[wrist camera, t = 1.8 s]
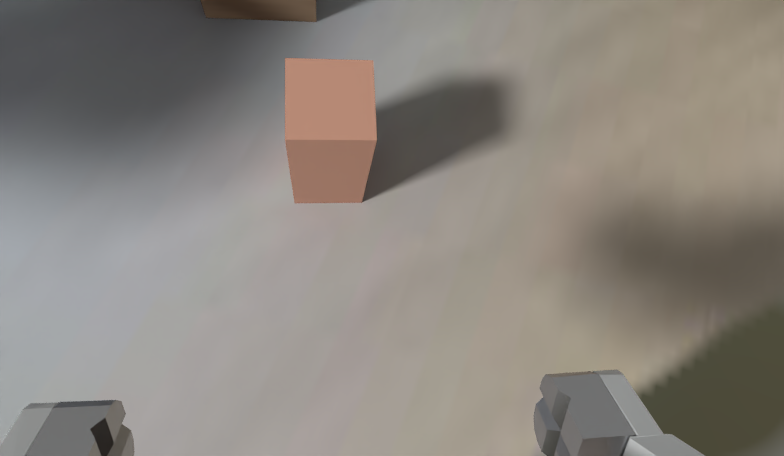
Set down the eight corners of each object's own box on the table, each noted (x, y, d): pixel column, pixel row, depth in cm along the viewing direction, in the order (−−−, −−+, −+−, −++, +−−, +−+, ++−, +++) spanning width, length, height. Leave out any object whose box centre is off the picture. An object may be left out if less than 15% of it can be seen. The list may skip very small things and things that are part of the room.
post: (294, 203, 32) (285, 139, 23) (294, 141, 33) (285, 58, 24) (361, 202, 32) (377, 140, 24) (359, 141, 33) (373, 60, 25)
